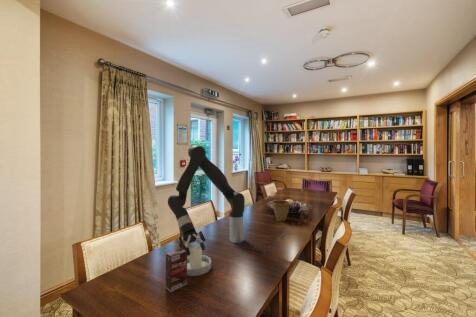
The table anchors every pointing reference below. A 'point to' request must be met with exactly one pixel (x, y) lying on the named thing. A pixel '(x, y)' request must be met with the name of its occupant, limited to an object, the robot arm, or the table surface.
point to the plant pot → (281, 209)
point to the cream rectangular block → (195, 257)
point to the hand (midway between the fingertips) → (196, 252)
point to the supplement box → (176, 269)
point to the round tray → (199, 270)
